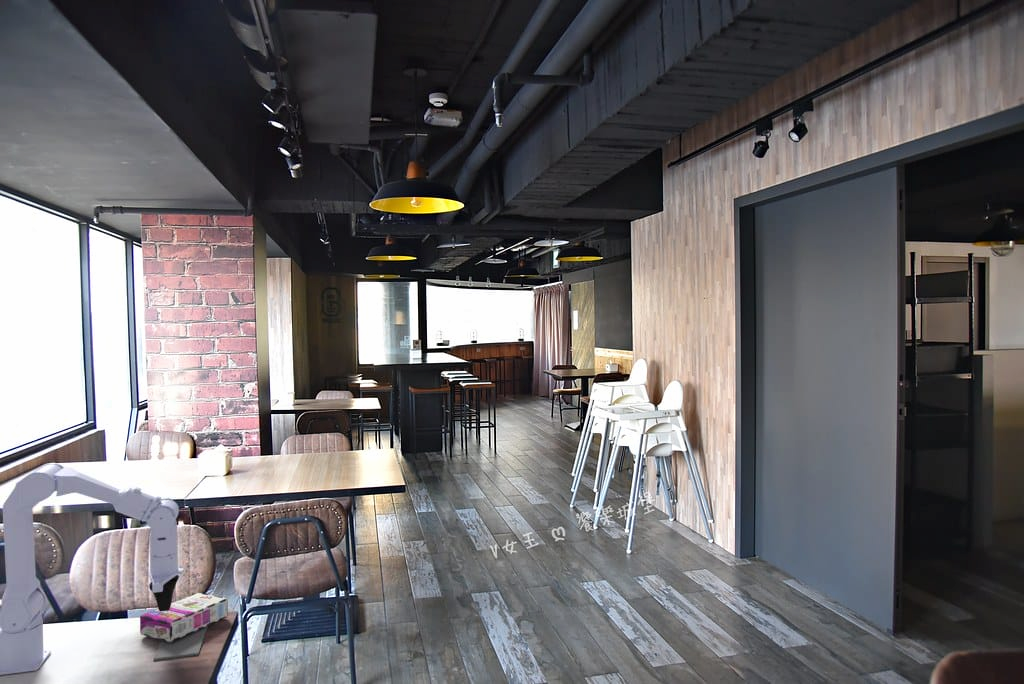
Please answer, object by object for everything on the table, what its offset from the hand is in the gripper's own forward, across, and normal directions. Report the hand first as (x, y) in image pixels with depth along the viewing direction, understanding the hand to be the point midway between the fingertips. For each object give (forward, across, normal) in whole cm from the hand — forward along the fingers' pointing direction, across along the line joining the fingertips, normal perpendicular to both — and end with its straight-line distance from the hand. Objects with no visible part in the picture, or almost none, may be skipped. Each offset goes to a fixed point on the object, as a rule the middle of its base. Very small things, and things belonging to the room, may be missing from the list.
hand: (164, 609), depth 153 cm
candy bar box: (+5, +2, +3) cm, 6 cm away
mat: (+8, 0, -4) cm, 9 cm away
